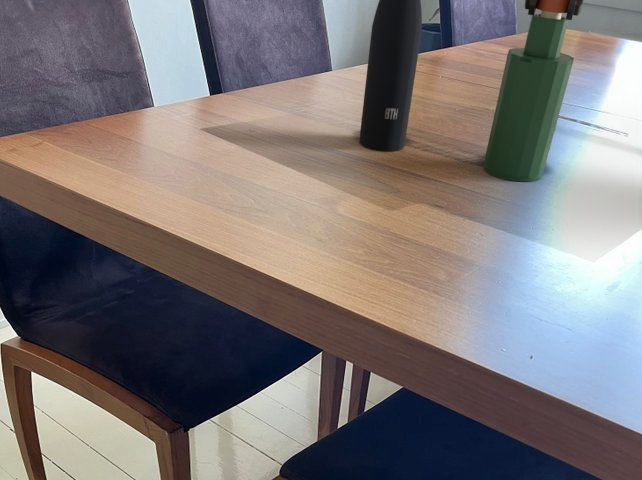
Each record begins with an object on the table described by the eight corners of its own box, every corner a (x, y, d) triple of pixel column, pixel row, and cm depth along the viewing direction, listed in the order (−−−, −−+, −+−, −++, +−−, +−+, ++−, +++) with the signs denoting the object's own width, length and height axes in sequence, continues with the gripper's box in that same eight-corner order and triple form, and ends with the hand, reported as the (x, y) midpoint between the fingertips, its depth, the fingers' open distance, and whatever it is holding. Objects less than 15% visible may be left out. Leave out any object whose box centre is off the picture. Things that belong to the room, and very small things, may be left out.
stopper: (563, 50, 89) (582, -18, 84) (550, 53, 86) (568, -17, 82) (535, 43, 90) (551, -23, 86) (521, 46, 88) (537, -22, 84)
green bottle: (552, 173, 98) (594, 20, 87) (525, 186, 93) (567, 24, 82) (500, 158, 102) (535, 9, 90) (472, 169, 97) (505, 13, 86)
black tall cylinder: (380, 135, 106) (414, -127, 88) (413, 147, 103) (456, -123, 84) (349, 141, 103) (377, -130, 84) (382, 154, 99) (420, -127, 81)
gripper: (644, -85, 88) (606, 43, 86) (525, -97, 91) (487, 27, 90) (661, -144, 81) (621, -5, 79) (531, -154, 84) (490, -21, 82)
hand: (550, 11), depth 84 cm, fingers closed on stopper, 3 cm apart
